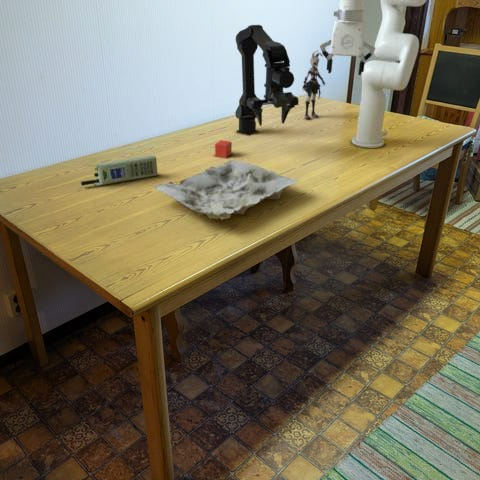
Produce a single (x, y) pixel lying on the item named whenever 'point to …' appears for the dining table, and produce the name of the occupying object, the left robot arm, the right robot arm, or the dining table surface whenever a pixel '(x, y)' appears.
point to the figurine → (312, 84)
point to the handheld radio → (124, 170)
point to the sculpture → (227, 189)
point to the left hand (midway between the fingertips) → (271, 124)
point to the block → (223, 148)
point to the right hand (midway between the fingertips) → (344, 73)
